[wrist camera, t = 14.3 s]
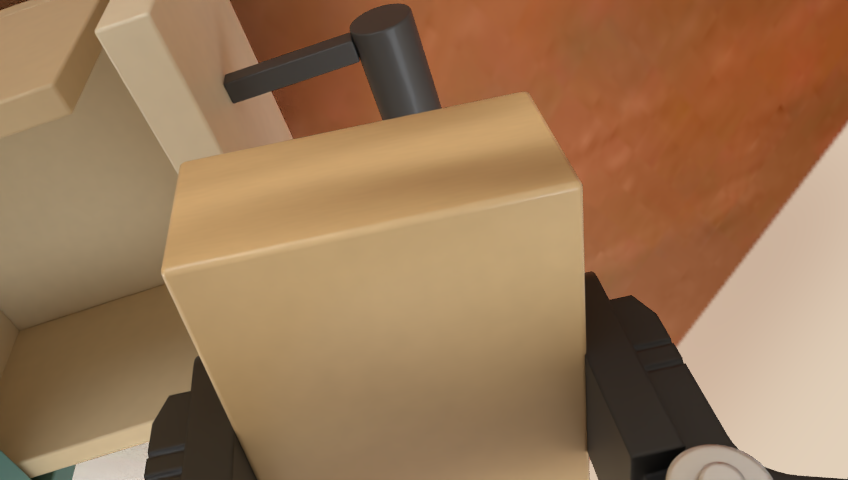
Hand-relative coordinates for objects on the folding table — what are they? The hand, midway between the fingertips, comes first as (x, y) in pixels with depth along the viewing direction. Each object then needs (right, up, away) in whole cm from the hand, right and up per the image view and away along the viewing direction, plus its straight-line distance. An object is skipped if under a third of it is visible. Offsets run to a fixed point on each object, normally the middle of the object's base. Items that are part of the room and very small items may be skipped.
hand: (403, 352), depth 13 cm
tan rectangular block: (0, 0, +1) cm, 1 cm away
